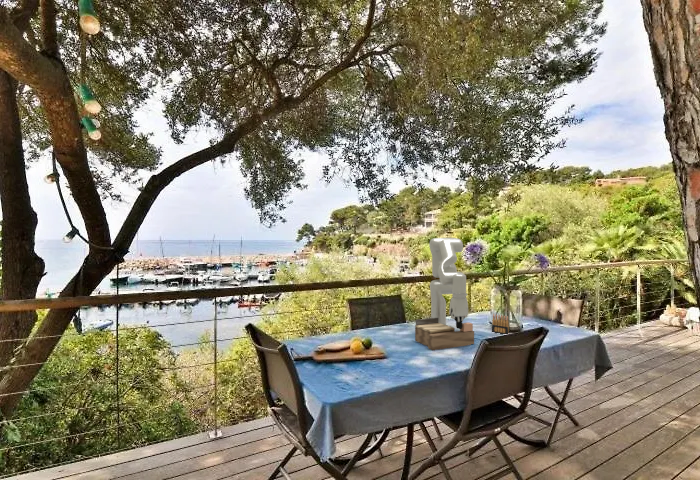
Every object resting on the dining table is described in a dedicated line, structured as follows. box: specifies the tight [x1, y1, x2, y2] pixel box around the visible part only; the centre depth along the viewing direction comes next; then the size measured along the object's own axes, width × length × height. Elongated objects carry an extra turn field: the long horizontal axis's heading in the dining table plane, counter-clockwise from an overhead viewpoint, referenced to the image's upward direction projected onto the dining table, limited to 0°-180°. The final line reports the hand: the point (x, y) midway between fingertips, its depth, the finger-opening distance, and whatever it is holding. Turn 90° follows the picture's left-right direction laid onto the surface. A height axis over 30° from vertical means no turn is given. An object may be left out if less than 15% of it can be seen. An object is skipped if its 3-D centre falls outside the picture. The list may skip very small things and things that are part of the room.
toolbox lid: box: [414, 317, 456, 333], centre depth 251 cm, size 16×16×4 cm
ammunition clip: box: [491, 313, 510, 336], centre depth 271 cm, size 11×2×12 cm, turn 45°
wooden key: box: [459, 322, 474, 332], centre depth 247 cm, size 4×6×4 cm, turn 114°
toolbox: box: [414, 326, 475, 351], centre depth 250 cm, size 21×28×8 cm
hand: (459, 328), depth 245 cm, fingers closed
